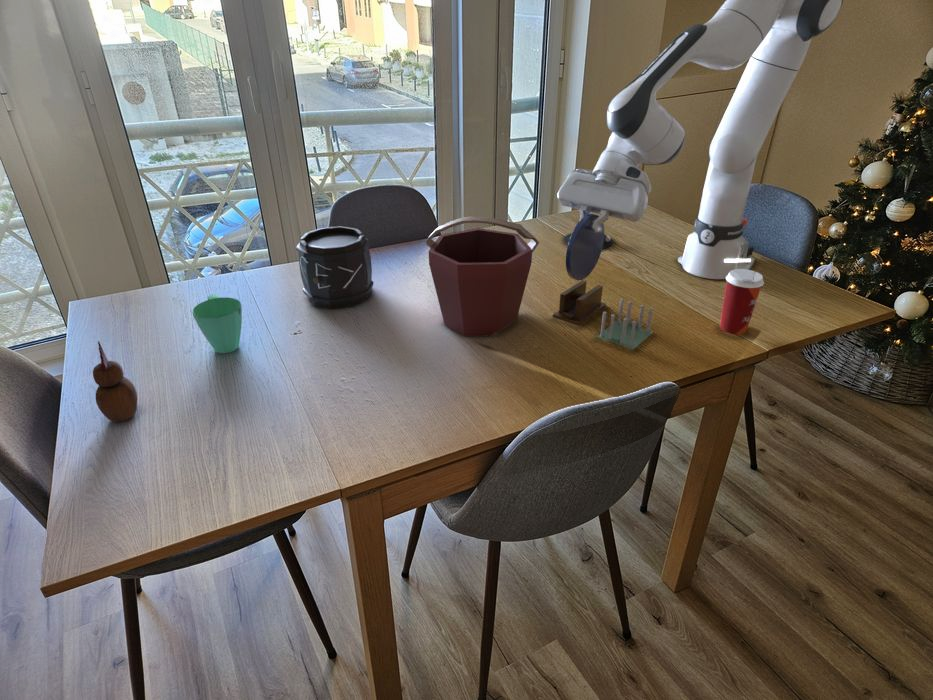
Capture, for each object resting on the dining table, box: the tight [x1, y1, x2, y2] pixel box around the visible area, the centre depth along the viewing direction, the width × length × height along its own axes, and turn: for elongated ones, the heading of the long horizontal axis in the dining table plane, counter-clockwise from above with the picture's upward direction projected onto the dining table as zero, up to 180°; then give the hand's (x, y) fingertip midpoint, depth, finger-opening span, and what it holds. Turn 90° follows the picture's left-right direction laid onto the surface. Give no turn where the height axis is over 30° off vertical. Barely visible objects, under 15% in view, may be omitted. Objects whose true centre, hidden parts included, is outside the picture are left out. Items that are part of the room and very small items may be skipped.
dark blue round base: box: [563, 233, 614, 250], centre depth 188 cm, size 15×15×6 cm
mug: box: [192, 293, 243, 354], centre depth 134 cm, size 15×10×10 cm
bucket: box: [425, 215, 540, 337], centre depth 138 cm, size 24×22×25 cm
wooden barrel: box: [295, 225, 374, 310], centre depth 154 cm, size 18×18×16 cm
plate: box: [565, 213, 605, 281], centre depth 138 cm, size 15×1×15 cm, turn 141°
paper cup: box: [719, 269, 765, 335], centre depth 136 cm, size 8×8×14 cm
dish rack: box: [595, 298, 654, 350], centre depth 135 cm, size 10×9×7 cm
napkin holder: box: [552, 279, 607, 326], centre depth 145 cm, size 13×7×6 cm, turn 140°
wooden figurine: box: [92, 340, 138, 423], centre depth 110 cm, size 7×6×15 cm
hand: (586, 228), depth 135 cm, fingers closed on plate, 1 cm apart
